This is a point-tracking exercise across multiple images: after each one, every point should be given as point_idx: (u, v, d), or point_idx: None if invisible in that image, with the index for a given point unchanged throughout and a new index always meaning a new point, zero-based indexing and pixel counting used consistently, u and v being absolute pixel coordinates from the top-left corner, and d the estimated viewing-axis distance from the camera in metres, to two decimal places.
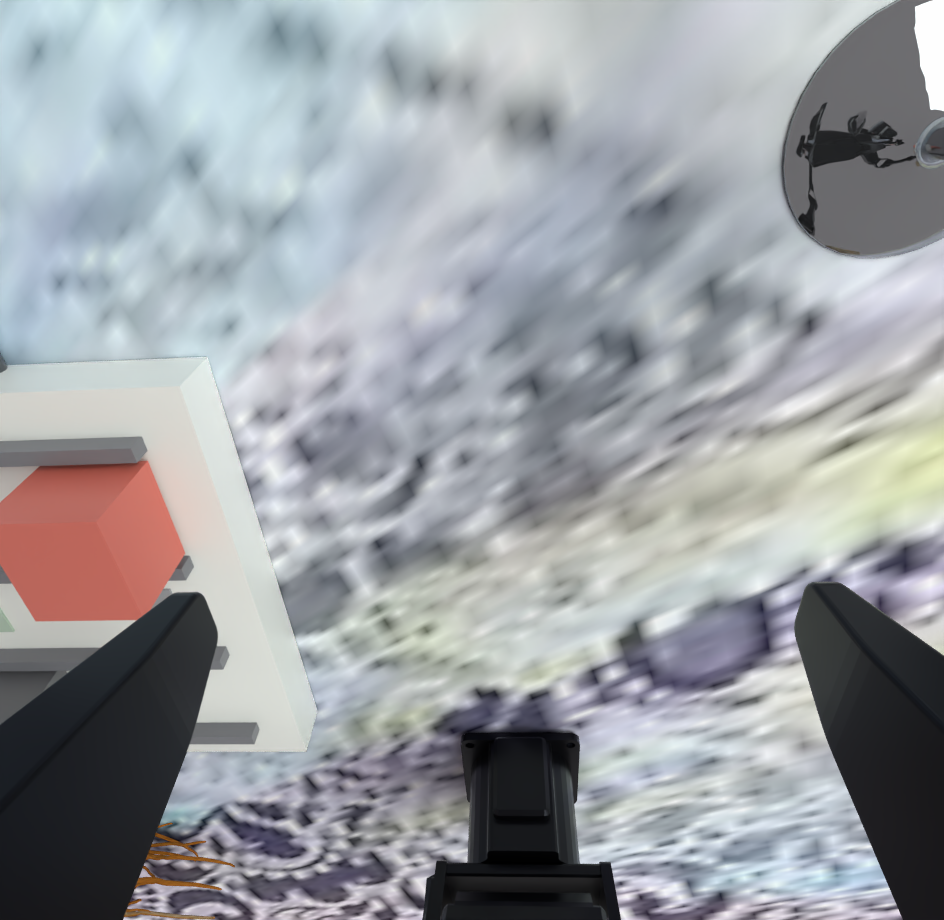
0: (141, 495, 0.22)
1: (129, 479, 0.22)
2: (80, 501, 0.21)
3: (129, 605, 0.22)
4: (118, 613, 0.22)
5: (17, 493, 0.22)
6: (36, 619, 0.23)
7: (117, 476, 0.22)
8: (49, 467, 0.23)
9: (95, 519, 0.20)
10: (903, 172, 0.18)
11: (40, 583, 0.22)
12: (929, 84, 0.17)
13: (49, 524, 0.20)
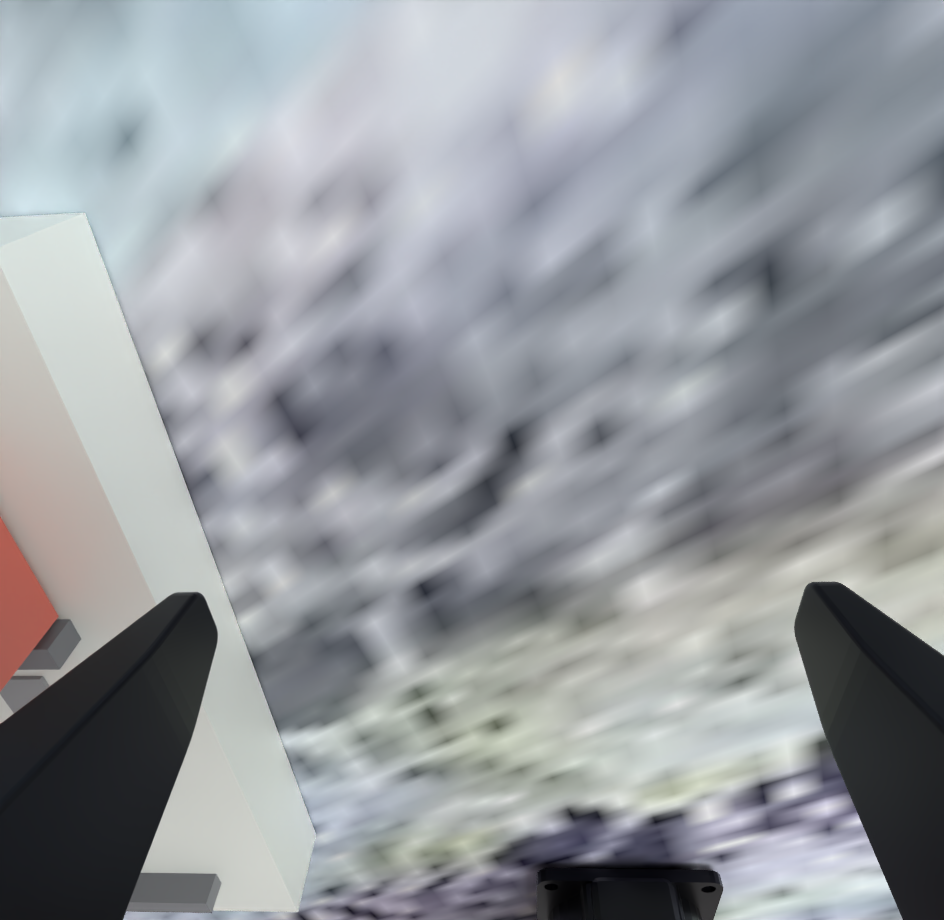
0: None
1: None
2: None
3: None
4: None
5: None
6: None
7: None
8: None
9: None
10: None
11: None
12: None
13: None
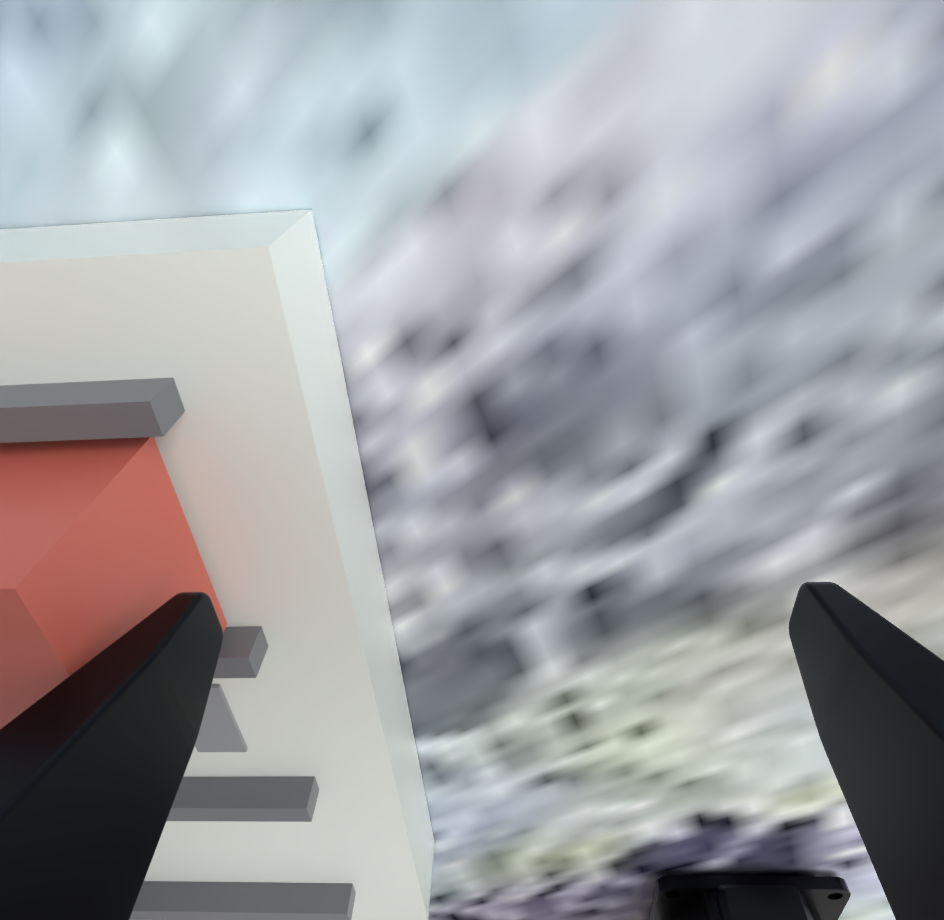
0: (138, 512, 0.10)
1: (110, 476, 0.09)
2: None
3: None
4: None
5: None
6: None
7: (84, 468, 0.10)
8: None
9: (13, 580, 0.08)
10: None
11: None
12: None
13: None
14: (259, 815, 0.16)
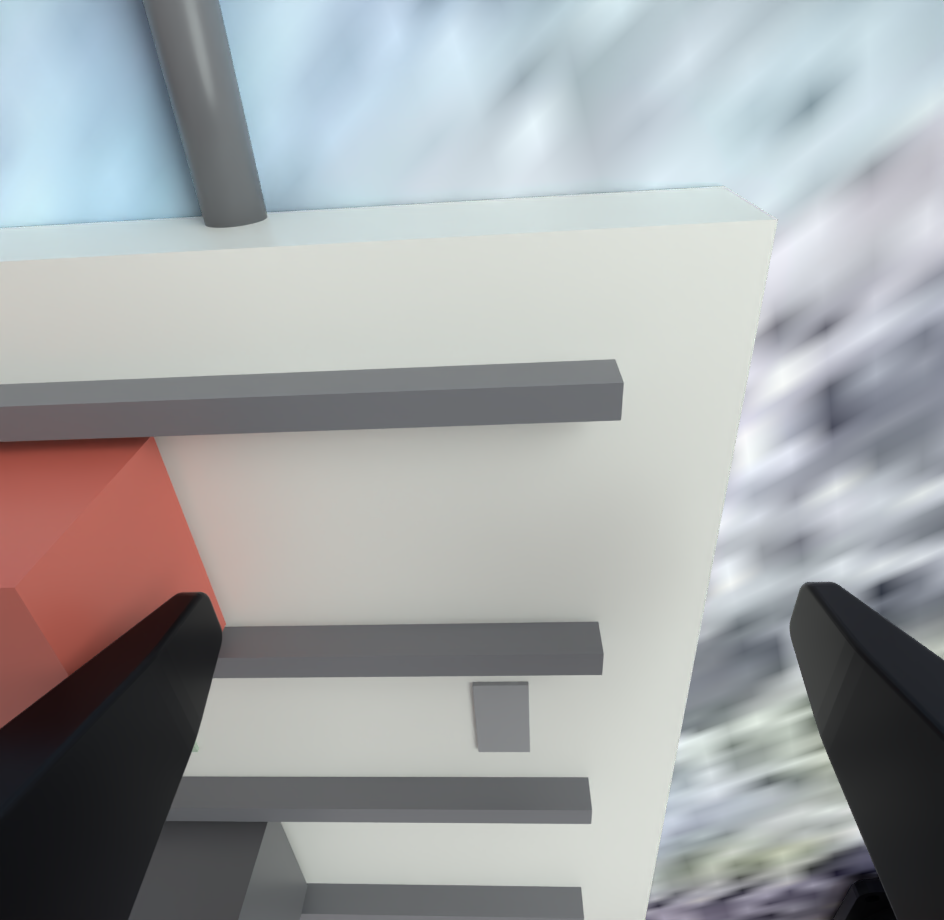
0: (138, 511, 0.10)
1: (109, 475, 0.09)
2: None
3: None
4: None
5: None
6: None
7: (83, 467, 0.10)
8: None
9: (13, 579, 0.08)
10: None
11: None
12: None
13: None
14: (538, 817, 0.15)
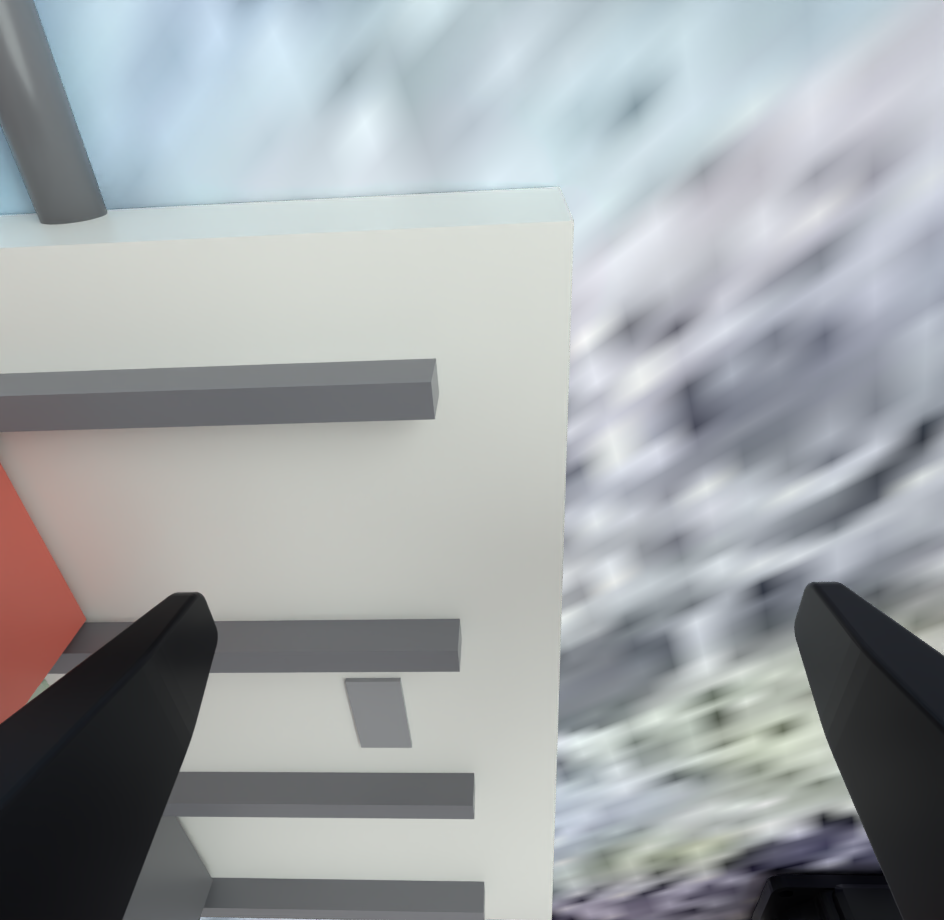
0: None
1: None
2: None
3: None
4: None
5: None
6: None
7: None
8: None
9: None
10: None
11: None
12: None
13: None
14: (421, 812, 0.15)
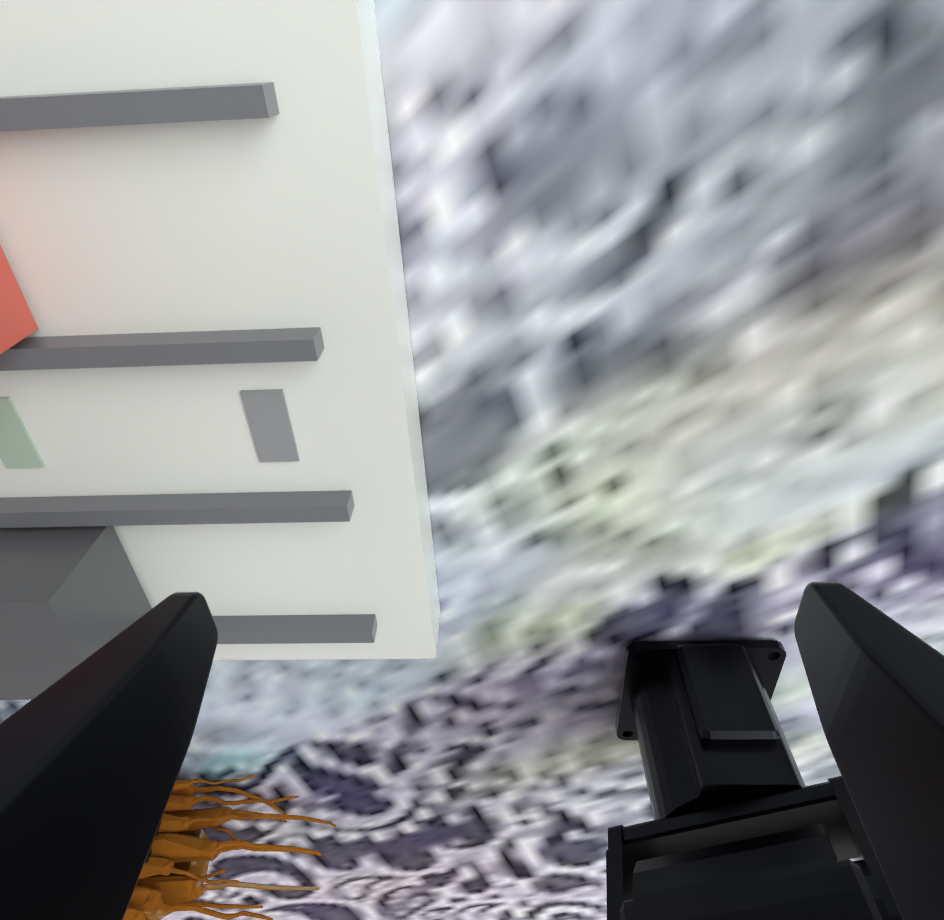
0: None
1: None
2: None
3: None
4: None
5: None
6: None
7: None
8: None
9: None
10: None
11: None
12: None
13: None
14: (308, 515, 0.19)
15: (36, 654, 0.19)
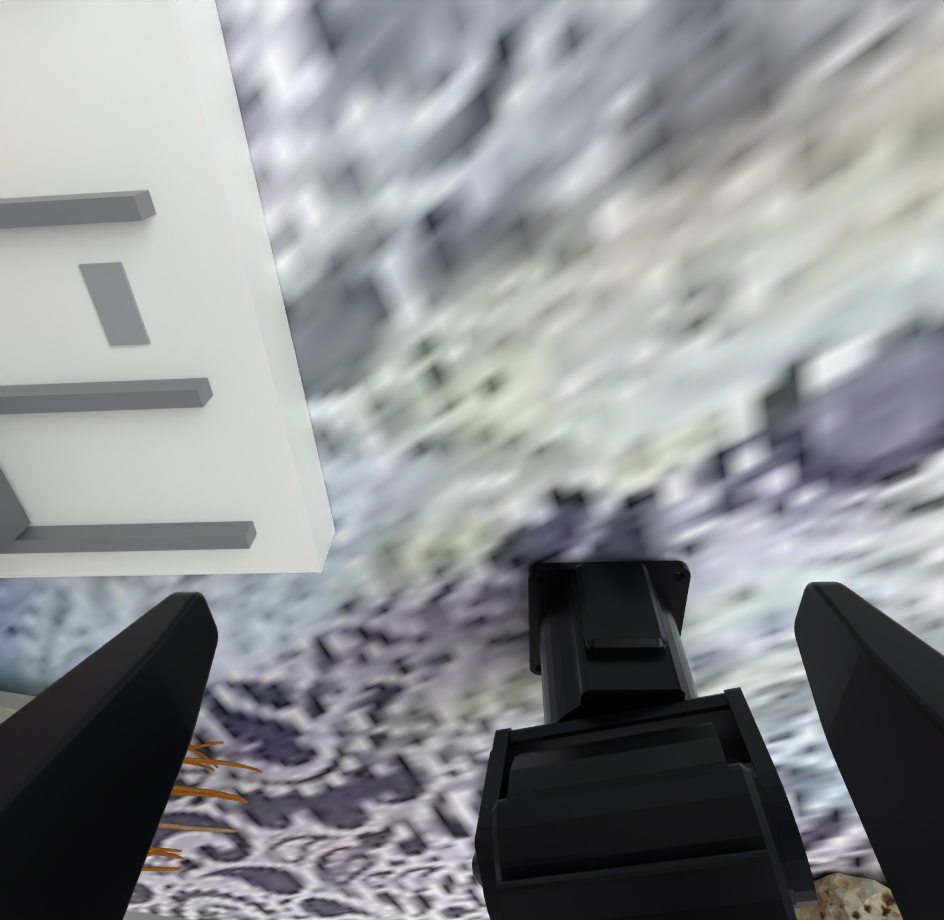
0: None
1: None
2: None
3: None
4: None
5: None
6: None
7: None
8: None
9: None
10: None
11: None
12: None
13: None
14: (160, 400, 0.19)
15: None
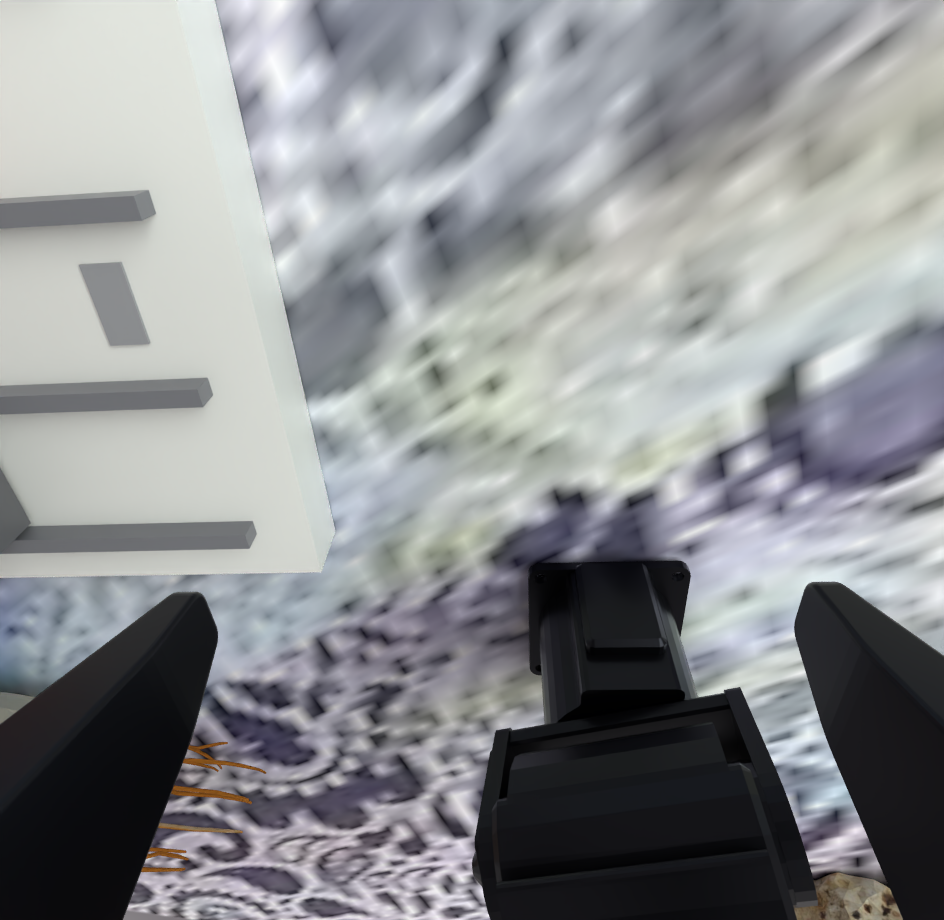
0: None
1: None
2: None
3: None
4: None
5: None
6: None
7: None
8: None
9: None
10: None
11: None
12: None
13: None
14: (160, 400, 0.19)
15: None
